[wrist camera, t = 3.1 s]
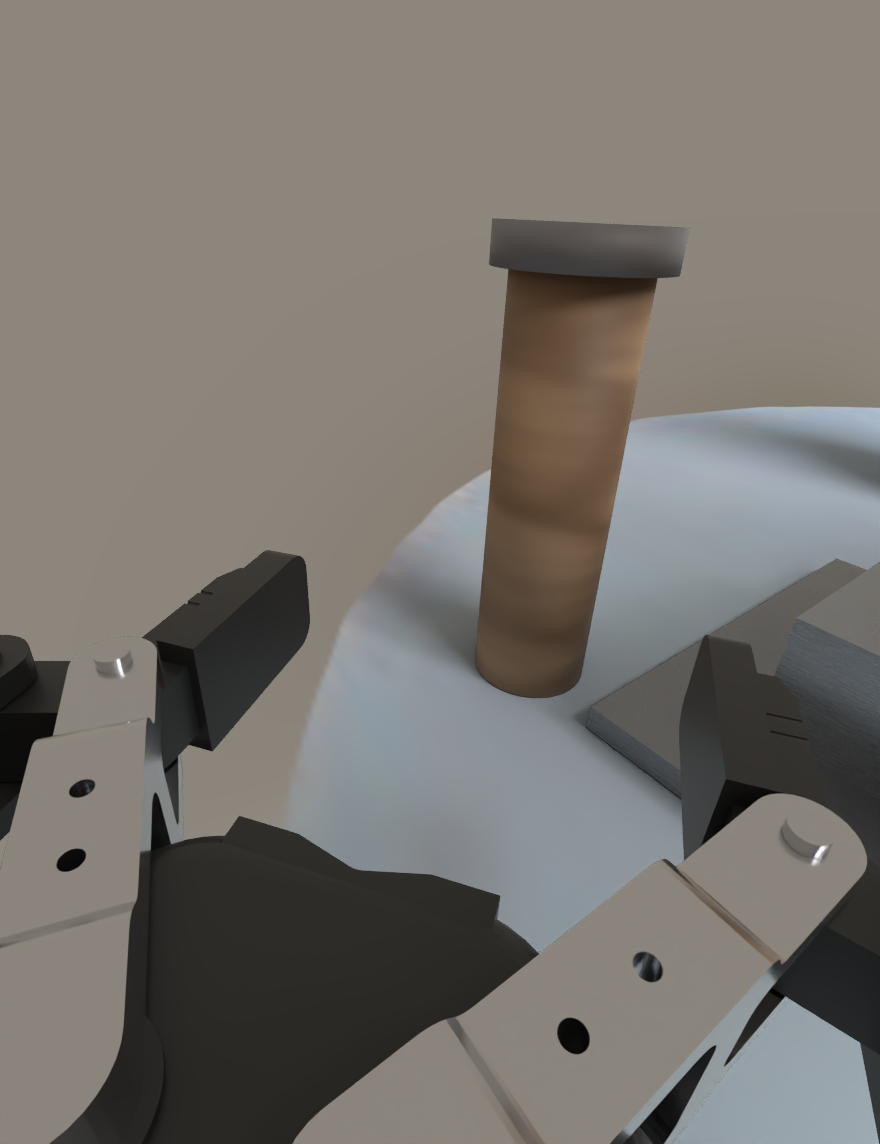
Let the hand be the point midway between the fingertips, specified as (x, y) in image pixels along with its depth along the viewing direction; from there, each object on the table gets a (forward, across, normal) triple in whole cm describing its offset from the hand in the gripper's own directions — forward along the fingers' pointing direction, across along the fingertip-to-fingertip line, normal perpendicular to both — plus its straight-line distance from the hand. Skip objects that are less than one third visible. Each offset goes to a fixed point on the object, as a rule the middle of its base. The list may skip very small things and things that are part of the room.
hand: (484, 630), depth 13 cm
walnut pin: (+11, 0, +9) cm, 14 cm away
